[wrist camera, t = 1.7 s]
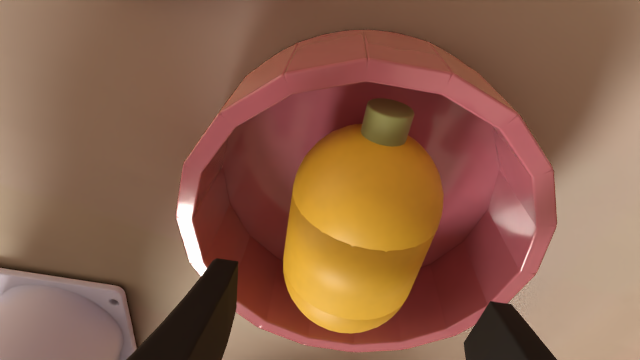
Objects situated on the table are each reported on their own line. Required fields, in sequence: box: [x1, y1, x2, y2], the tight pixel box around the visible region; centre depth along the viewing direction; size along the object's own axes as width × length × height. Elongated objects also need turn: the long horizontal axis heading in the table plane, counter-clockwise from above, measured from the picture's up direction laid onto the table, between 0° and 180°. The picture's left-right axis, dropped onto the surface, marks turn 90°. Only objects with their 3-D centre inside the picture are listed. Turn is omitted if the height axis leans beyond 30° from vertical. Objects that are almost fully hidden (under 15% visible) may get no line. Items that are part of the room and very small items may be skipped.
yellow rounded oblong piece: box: [283, 98, 444, 334], centre depth 13 cm, size 9×5×5 cm, turn 171°
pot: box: [175, 30, 557, 352], centre depth 14 cm, size 12×12×4 cm
